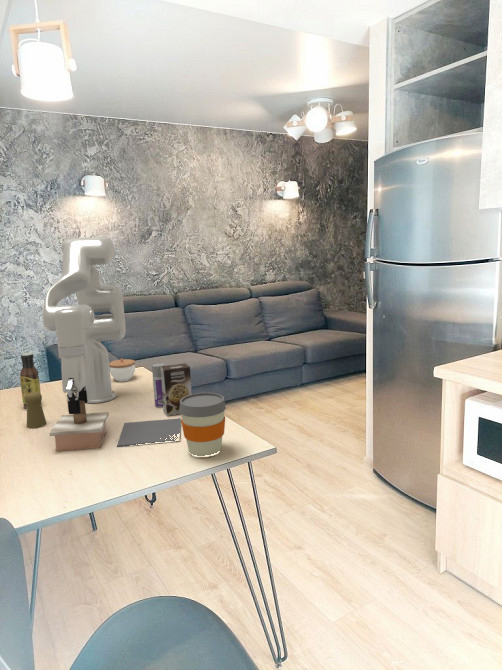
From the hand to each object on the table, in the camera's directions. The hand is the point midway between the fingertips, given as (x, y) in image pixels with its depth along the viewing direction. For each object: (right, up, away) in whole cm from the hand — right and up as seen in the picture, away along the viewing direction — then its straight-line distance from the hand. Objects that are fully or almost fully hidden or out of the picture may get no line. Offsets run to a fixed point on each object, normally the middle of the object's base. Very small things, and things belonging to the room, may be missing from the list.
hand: (78, 408), depth 143 cm
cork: (-20, -8, +17) cm, 27 cm away
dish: (0, -10, +3) cm, 10 cm away
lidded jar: (-4, +2, +66) cm, 66 cm away
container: (+19, -4, +31) cm, 37 cm away
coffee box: (+26, -5, +24) cm, 36 cm away
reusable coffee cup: (+38, -11, -8) cm, 40 cm away
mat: (+20, -9, +7) cm, 23 cm away
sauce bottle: (-29, -5, +36) cm, 46 cm away
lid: (0, -5, +2) cm, 5 cm away
